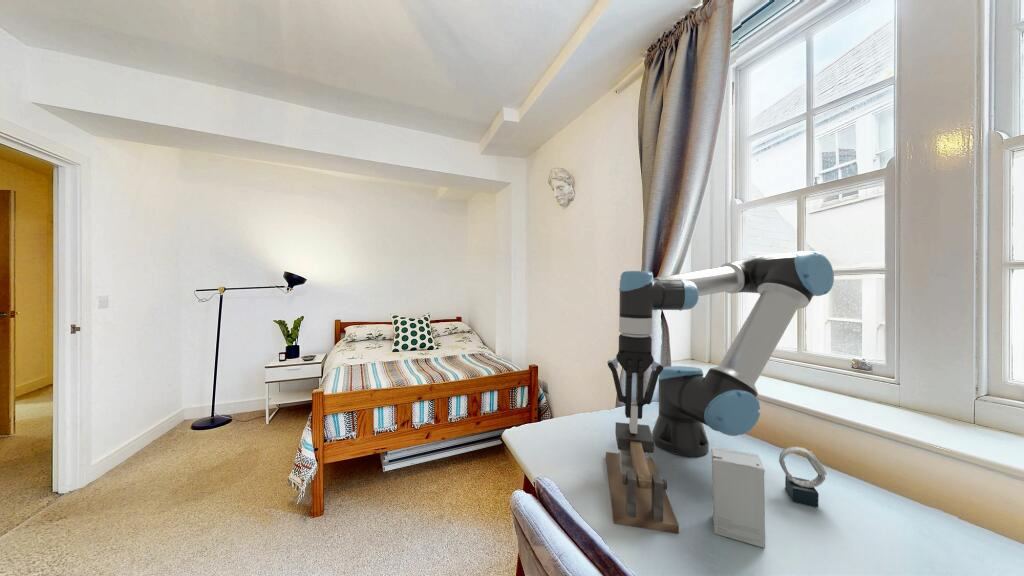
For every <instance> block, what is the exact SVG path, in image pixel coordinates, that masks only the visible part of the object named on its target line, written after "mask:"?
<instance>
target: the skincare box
mask: <svg viewBox="0 0 1024 576" xmlns="http://www.w3.org/2000/svg"><path fill="white" fill-rule="evenodd" d="M765 472H766V471H765V468H764V466H763V462H762V460H761V458H760V456H759V454H757V453H756V454H755V453H750V452H743V451H738V450H733V449H726V448H721V447H716V446H711V487H712V489H711V490H712V493H711V494H712V517H713V518H712V520H713V531H714V534H715V535H718V536H722V537H725V538H728V539H733V540H736V541H740V542H743V543H746V544H750V545H753V546H756V547H760V548H763V549H765V548H766V507H765V506H766V505H765V503H766V502H765V500H766V499H765V495H766V494H765V490H766V489H765Z"/></svg>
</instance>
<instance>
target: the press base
mask: <svg viewBox="0 0 1024 576" xmlns="http://www.w3.org/2000/svg"><path fill="white" fill-rule="evenodd" d="M644 455H645V458H646V462H647V466H648V470H649V473H650V476H651V481H652V489H651V491H649V490H641V489H638V485H637V479H636V475H635V470H634V465H633V460H632V455H631V451H626V450H619V453H618V452H610V451H609V452H608V451H606V452H605V461H606V469H607V478H608V479H607V480H608V487H609V495H610V496H609V497H610V503H611V512H612V521H613V524H615V525H622V526H629V527H635V528H640V529H641V528H642V529H647V530H655V531H660V532H667V533H674V534H679V533H680V530H679V528H680V525H679V523H678V520H677V517H676V514H675V513H674V509H673V507H672V504H671V501H670V499H669V496H668V494H667V492H666V491H668V482H667V479H664V478H662V475H661V474H659V470H658V468H657V465H656V464H655V460H654V457H653V456H648V453H644Z"/></svg>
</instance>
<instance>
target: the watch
mask: <svg viewBox="0 0 1024 576" xmlns="http://www.w3.org/2000/svg"><path fill="white" fill-rule="evenodd" d="M793 453H801V454H802V453H803V454H804V455H805V457H806V459H807V461H809V463H810V465H811V467H812V468H813V470H814V471H815V472H816V474H817V476H816V477H815V478H813V479H811V480H810V479H805V478H802V477H795V476H793V474H791V473H790V472H789V471H788V468H787V466H786V461H785V458H786V456H788V455H789V454H790V455H791V454H793ZM778 459H779V460H778V462H779V465H780V467H781V469H782V471H783V473H784V474H785V477H784V478H785V479H784V482H785V484H784V485H785V486H784V489H785V490H786V492H787V494H788V496H789V498H790V499H791V502H792V503H794V504H800V505H804V506H807V507H808V506H809V507H812V508H816V507H818V508H819V492H818V491H817V489H816V488H817V487H819V486H821V485H822V484H823V483H824V482H825V480H826V476H827V474H828V473H827V472H826V470H825V468H824V467H823V465H822V463H821V462H820V461H819V459H818V458H817V456H816V455H815V454H814V452H813V451H812V450H808V449H807V448H804V447H802V446H788V447H786V448H784V449H782V451H781V452H780V454H779V457H778Z"/></svg>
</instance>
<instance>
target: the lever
mask: <svg viewBox="0 0 1024 576" xmlns="http://www.w3.org/2000/svg"><path fill="white" fill-rule="evenodd" d="M614 431H615V439H616V445H617V450H618V451H620V450H626V451H631V455H632V460H633V465H634V470H635V475H636V479H637V485H638V489H641V490H649V491H651V489H652V481H651V476H650V473H649V470H648V466H647V462H646V458H645V455H644V453H646V454H654V450H655V443H654V440H653V437H652V432H651V429H650V426H649V425H648V424H639V423H638V426H637V434H636V433H631V432H630V429H629V422H628V423H626V422H616V421H615V430H614Z"/></svg>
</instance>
